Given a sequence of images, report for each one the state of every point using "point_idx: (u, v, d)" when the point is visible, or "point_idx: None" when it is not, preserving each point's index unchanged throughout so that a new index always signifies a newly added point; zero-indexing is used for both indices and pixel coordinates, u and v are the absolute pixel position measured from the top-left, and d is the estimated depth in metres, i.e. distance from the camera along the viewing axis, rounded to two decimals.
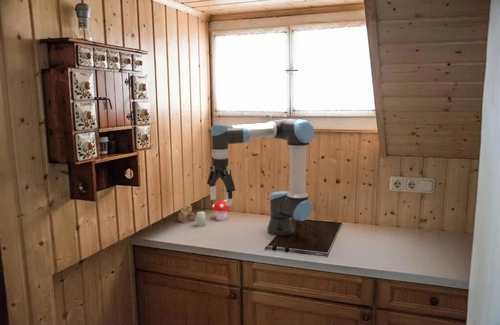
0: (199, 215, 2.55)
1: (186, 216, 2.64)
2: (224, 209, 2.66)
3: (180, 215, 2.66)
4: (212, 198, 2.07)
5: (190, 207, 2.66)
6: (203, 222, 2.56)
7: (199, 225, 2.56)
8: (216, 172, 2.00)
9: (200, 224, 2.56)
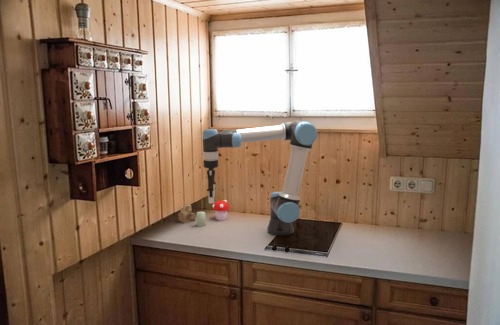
0: (199, 215, 2.55)
1: (186, 216, 2.64)
2: (224, 209, 2.66)
3: (180, 215, 2.66)
4: None
5: (190, 207, 2.66)
6: (203, 222, 2.56)
7: (199, 225, 2.56)
8: None
9: (200, 224, 2.56)
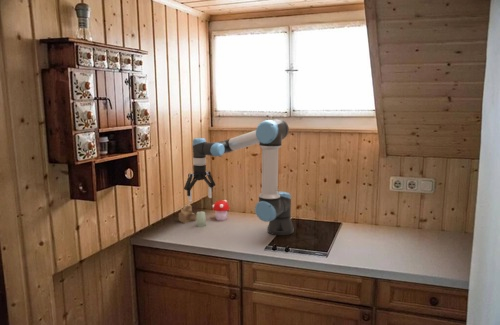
0: (199, 215, 2.55)
1: (186, 216, 2.64)
2: (224, 209, 2.66)
3: (180, 215, 2.66)
4: (208, 196, 2.60)
5: (190, 207, 2.66)
6: (203, 222, 2.56)
7: (199, 225, 2.56)
8: None
9: (200, 224, 2.56)
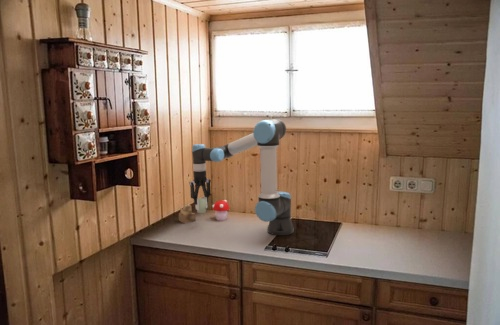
0: (199, 201, 2.54)
1: (186, 216, 2.63)
2: (224, 209, 2.66)
3: (180, 215, 2.66)
4: None
5: (190, 207, 2.66)
6: (203, 208, 2.55)
7: (199, 211, 2.55)
8: None
9: (201, 210, 2.54)
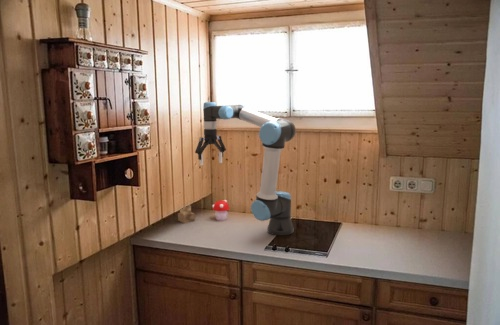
0: None
1: (186, 216, 2.63)
2: (224, 209, 2.66)
3: (180, 215, 2.66)
4: (219, 161, 2.62)
5: (189, 207, 2.66)
6: None
7: None
8: None
9: None
